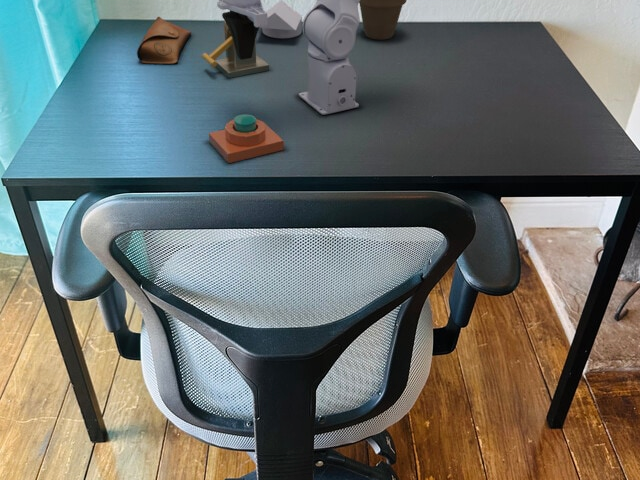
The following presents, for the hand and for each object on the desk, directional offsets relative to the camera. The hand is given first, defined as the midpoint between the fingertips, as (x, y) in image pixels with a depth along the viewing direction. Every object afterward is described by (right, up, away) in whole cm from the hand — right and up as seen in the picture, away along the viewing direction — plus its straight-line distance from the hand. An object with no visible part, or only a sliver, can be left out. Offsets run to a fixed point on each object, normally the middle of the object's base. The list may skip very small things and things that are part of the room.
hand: (244, 57), depth 113 cm
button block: (0, -16, -2) cm, 16 cm away
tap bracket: (-3, +7, +23) cm, 24 cm away
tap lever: (-5, +9, +19) cm, 22 cm away
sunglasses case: (-20, +14, +30) cm, 39 cm away
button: (+1, -13, -4) cm, 14 cm away
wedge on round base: (+4, +20, +38) cm, 43 cm away
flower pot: (+26, +20, +39) cm, 51 cm away
